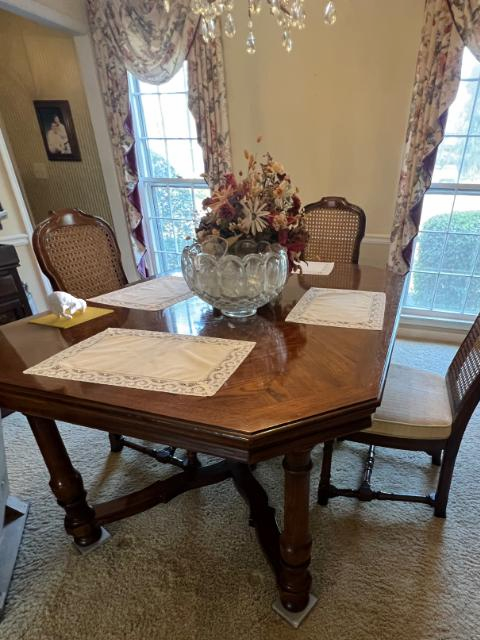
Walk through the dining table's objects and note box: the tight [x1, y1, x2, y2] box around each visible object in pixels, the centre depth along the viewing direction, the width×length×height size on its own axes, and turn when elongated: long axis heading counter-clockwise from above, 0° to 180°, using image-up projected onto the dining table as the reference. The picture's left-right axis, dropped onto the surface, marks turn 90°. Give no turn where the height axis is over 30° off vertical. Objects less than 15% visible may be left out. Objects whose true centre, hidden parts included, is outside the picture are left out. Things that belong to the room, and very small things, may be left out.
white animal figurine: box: [46, 290, 87, 319], centre depth 125 cm, size 6×8×12 cm
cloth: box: [27, 305, 115, 329], centre depth 127 cm, size 20×16×1 cm
